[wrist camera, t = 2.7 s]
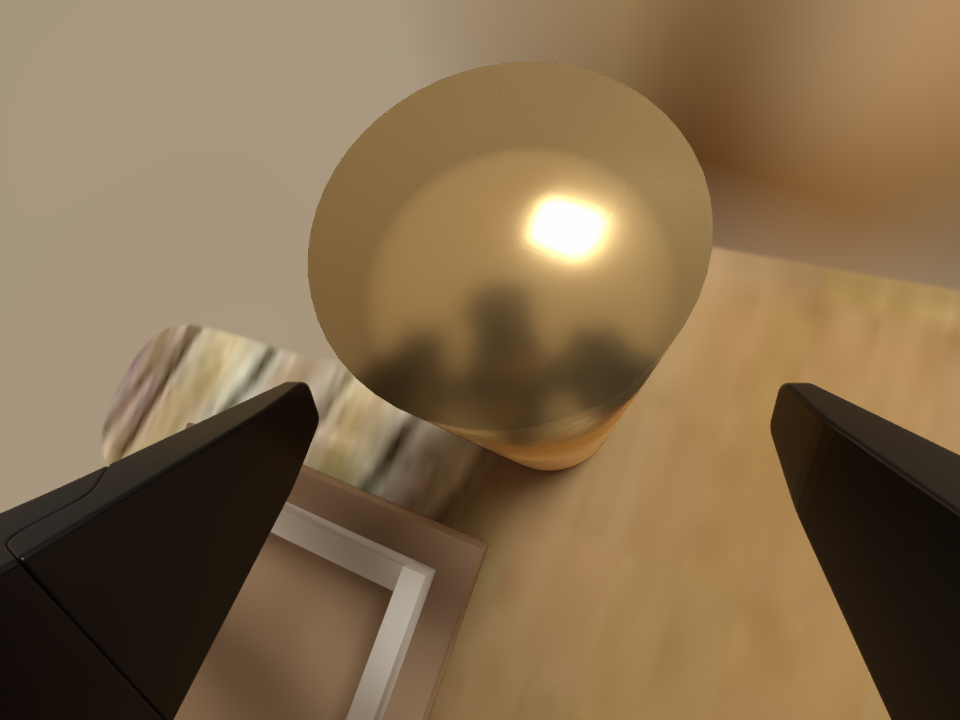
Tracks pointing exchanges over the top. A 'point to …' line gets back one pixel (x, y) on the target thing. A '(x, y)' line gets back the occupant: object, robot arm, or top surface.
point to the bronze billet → (512, 255)
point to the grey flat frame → (340, 613)
